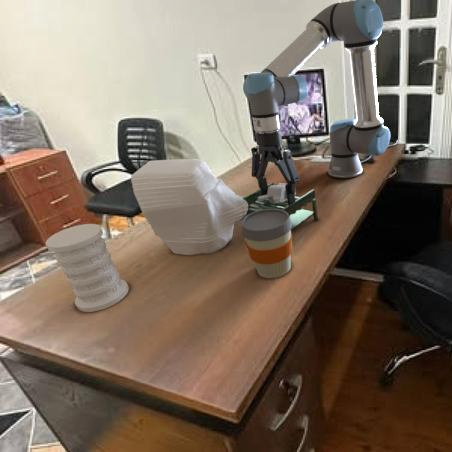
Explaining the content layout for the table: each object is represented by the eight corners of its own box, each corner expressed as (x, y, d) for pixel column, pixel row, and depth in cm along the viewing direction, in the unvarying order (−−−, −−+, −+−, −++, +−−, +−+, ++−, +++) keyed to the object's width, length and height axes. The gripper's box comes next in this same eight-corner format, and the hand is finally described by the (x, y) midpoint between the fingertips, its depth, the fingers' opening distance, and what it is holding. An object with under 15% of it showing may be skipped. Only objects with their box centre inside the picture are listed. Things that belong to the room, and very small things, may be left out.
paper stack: (180, 229, 119) (157, 155, 107) (255, 231, 114) (240, 154, 102) (140, 265, 101) (107, 181, 88) (228, 268, 96) (205, 180, 84)
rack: (276, 210, 127) (271, 182, 122) (318, 219, 118) (314, 189, 113) (245, 230, 115) (239, 199, 110) (289, 241, 107) (284, 209, 101)
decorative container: (131, 299, 87) (103, 236, 78) (76, 319, 82) (41, 254, 73) (126, 277, 96) (101, 218, 87) (77, 293, 90) (45, 233, 82)
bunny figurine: (300, 180, 116) (281, 193, 103) (301, 195, 118) (282, 209, 105) (274, 179, 119) (252, 191, 105) (275, 194, 121) (254, 207, 107)
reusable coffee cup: (256, 256, 100) (247, 209, 93) (299, 254, 100) (293, 207, 93) (245, 283, 89) (233, 232, 82) (294, 281, 89) (286, 230, 82)
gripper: (230, 131, 105) (244, 199, 115) (290, 136, 94) (299, 210, 104) (248, 125, 110) (259, 190, 121) (306, 130, 99) (313, 201, 110)
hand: (278, 200), depth 113 cm, fingers closed on bunny figurine, 10 cm apart
